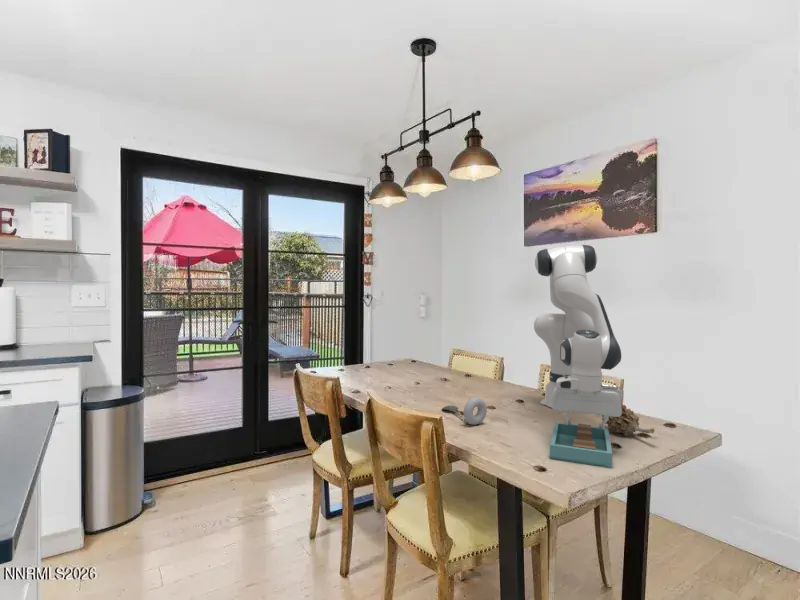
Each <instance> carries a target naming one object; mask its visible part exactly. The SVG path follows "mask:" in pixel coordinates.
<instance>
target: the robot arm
mask: <svg viewBox="0 0 800 600" xmlns="http://www.w3.org/2000/svg"><path fill="white" fill-rule="evenodd" d="M597 263H598V254H597V252H596V250H595V248H594V247H593V246H592V245H589V244H582V245H564V246H559V247H553V248H544V249H541V250H539V251H537V253H536V255H535V259H534V266H535V270H536V271H537V273H538V274H539V275H540V276H542V277H549V291H550V293H549V294H550V302H551V303H552V305H553V306H554V307H556V308H557V309H559V310H561V311H562V312H564V313H551V312H550V313H544V314H543V313H542V314H539V315H538V316H537V317H536V318H535V320H534V322H533V330H534V332H535V334H536V335H537V337H539V338H540V339H541V340H542V341H543V342H544V343H545V345H546V346H547V349H548V350H549V357H550V371H549V375H548V376H549V382H548V383H547V384H545V390H544V391H545V393H544V394H545V395H544V398H543V399H542V400H540V402H539V404H540V405H543V406H546V407H549V408H551V409H552V410H553V411H559V412H562V416H563V417H564V418H565V420H566V425H569V426H571V424H572V418H569V416H568V413H569V412H571V413H577V414H578V413H579V414H588V415H595V416H602V415H603V417H604V420H603V421H602V422H598V427H599V429H602V430H604V428H605V425H607V424H606V422H607V421H608V420H609V416H613V417H619V416H621V414H622V407H621V404H622V400H623V398H624V390H623V389H622V388H621V387H619V386H618V385H615V384H614V385H610V384H605V383H604V384H603V383H602V382H603V372H602V370H609V371H610V370H611V371H612V370H613V369H615V367H617V366H618V365H619V363H621V360H622V350H621V346H620V345H619V342H618V341H617V339H616V336H615V334H614V331H613V328H612V325H611V323H610V319H609V317H608V316H609V315H608V313H607V312H606V307H605V305H604V303H603V301H602V298H601V296H600V295H599V294H597V293H595V292H594V291H593V290H592V288H591V286H590V285H589V282H588V277H587V274H588V273H590V272H593V271H594V270H595V269H596V265H597ZM603 417H602V418H603Z"/></svg>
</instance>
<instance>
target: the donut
mask: <svg viewBox="0 0 800 600" xmlns="http://www.w3.org/2000/svg"><path fill="white" fill-rule="evenodd" d="M475 408H477V410H476V413H475V414H474V410H475ZM487 408H488V407H487V404H486V402H485V400H484V399H482V398H481V397H477V396H474V397H472V398H469V399H468V400H467V402H466V403H465V405H464V407H463V417H464V418H465V420H466V421H467V422H468V423H469V424H468V425H471V426H477V425H480V424H481V423H482V422H483V421H484V420H485V417H487V412H488V411H487V410H488V409H487Z"/></svg>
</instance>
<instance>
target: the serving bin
mask: <svg viewBox="0 0 800 600" xmlns="http://www.w3.org/2000/svg"><path fill="white" fill-rule="evenodd" d="M577 431H578V424H573V423H571V426H569V425H566V423H565V422H558V421H555V422H554V426H553V431H552V435H551V437H550V438H551V439H550V443H549V459H550V460H557V461H563V462H569V463H577V464H584V465H591V466H595V467H596V466H597V467H602V466H604V467H603V468H609V467H612V468H613V450H612V444H611V438H610V431H609V428H608V427H607V428H606V427H604V430H602V429H599V426H598V427H597V426H591V431H592V440H591V441H595V447H596V450H592V449H585V448H578V447H573V442H574V439H577Z"/></svg>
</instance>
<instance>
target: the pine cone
mask: <svg viewBox="0 0 800 600" xmlns="http://www.w3.org/2000/svg"><path fill="white" fill-rule="evenodd" d="M621 407H622V414H621V416H619V417H613V416H609V420H608V421H607V422H606V424H605V425H607V429H609V430H611V431H613V430H614V433H618V434H622V435H623V436H626V437H629V436H630V435H633V434H634V433H635V432H639V433H645V434H654V432H655V431H656V430H655V428H654V427H651V428H642V427H639V425H640V422H639V421H640V418H639V416H638V415H637V414H635V411H633V410H631V408H627V406H626V405H625V404H622V403H621ZM601 417H602V418H601V420H602V422H603V420H604V417H603V415H601Z"/></svg>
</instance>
